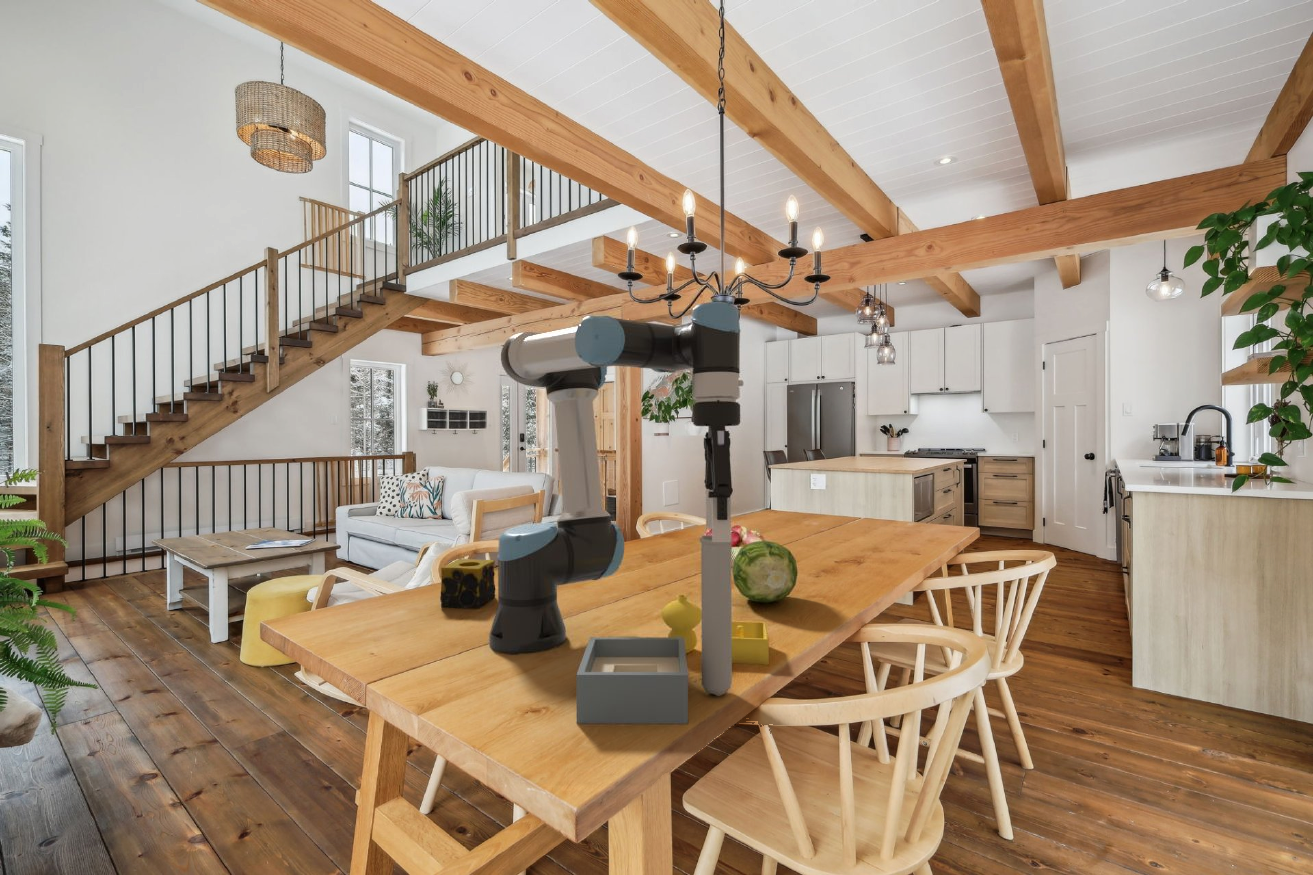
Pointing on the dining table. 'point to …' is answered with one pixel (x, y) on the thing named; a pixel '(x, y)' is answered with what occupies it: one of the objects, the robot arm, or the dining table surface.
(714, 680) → the tube
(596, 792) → the dining table surface
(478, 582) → the yellow and black cube
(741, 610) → the dining table surface
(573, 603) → the dining table surface
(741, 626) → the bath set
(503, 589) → the robot arm
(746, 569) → the lettuce
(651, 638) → the box
